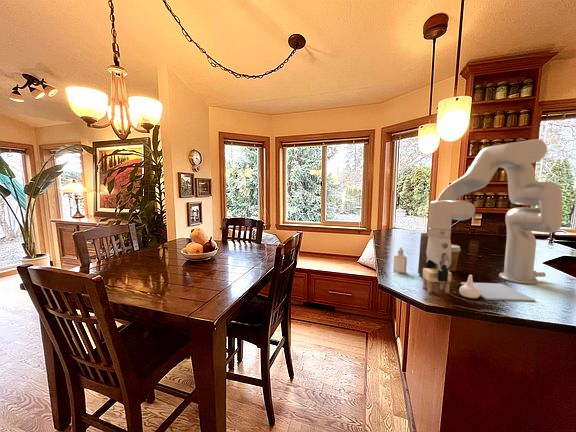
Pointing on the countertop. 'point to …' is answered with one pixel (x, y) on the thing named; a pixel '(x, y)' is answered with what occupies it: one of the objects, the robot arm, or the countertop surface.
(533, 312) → the countertop surface
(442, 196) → the robot arm
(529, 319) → the countertop surface
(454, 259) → the disposable coffee cup
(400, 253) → the eye dropper bottle
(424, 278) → the beech stool
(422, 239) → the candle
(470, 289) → the garlic bulb
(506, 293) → the felt mat
